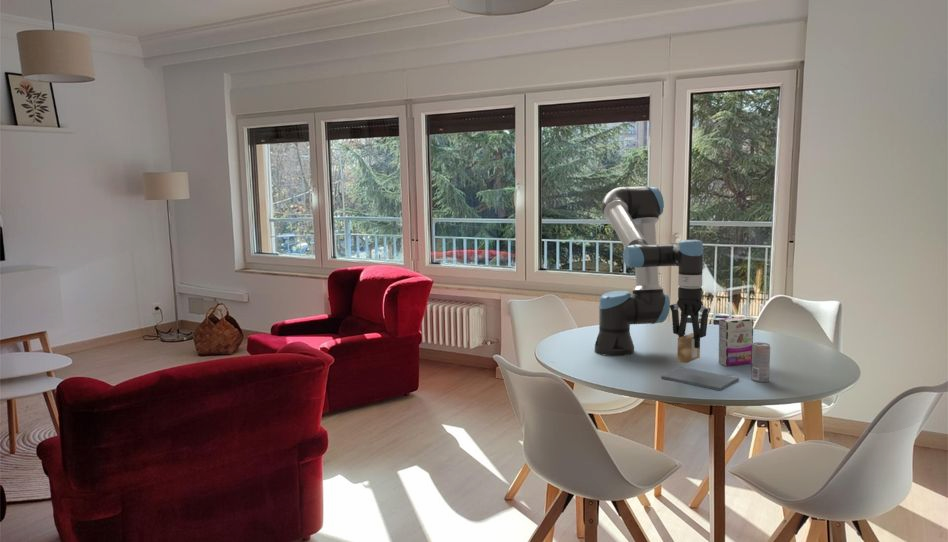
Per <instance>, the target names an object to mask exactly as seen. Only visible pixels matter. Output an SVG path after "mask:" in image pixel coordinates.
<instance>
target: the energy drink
mask: <svg viewBox="0 0 948 542" xmlns="http://www.w3.org/2000/svg"><path fill="white" fill-rule="evenodd" d="M770 365H771V345H770V344H769V343H766V342H753V346H752V363H751V373H750V374H751V376H750V377H751V380H752V381H754V382H757V383H767V382H769V381H770V367H771V366H770Z"/></svg>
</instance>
